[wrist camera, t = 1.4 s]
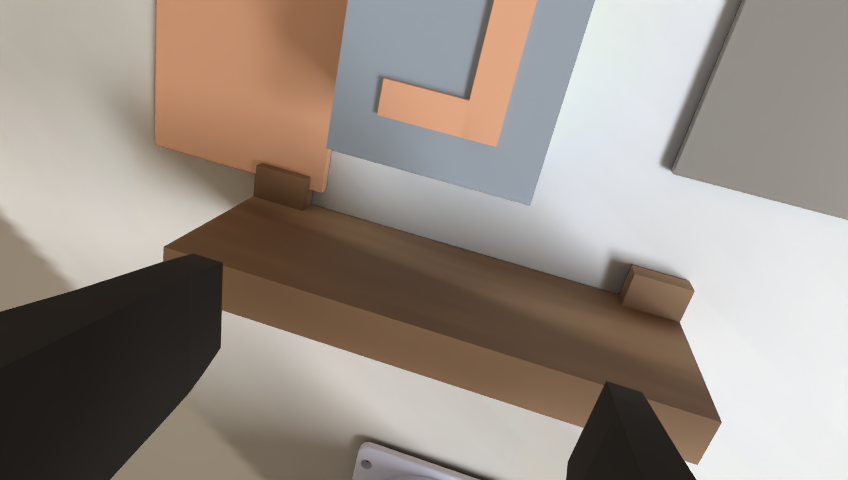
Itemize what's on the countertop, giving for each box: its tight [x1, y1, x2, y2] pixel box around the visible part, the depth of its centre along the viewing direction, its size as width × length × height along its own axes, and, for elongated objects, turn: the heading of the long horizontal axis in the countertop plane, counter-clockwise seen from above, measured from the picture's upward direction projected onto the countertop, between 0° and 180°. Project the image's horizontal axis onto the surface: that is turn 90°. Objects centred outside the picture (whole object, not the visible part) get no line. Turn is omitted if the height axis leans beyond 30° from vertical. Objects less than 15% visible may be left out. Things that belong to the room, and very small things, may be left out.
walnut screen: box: [163, 163, 722, 465], centre depth 18 cm, size 4×16×6 cm, turn 77°
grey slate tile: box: [671, 0, 848, 220], centre depth 16 cm, size 6×6×1 cm
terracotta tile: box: [155, 0, 348, 193], centre depth 20 cm, size 7×7×1 cm
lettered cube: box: [326, 0, 595, 206], centre depth 15 cm, size 6×6×6 cm
